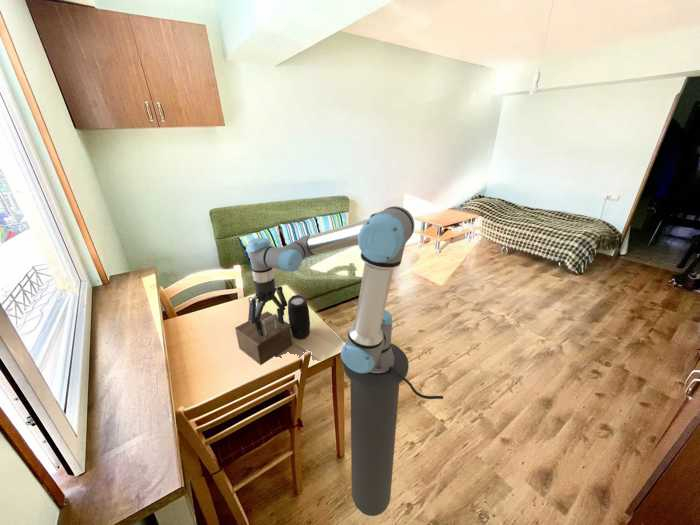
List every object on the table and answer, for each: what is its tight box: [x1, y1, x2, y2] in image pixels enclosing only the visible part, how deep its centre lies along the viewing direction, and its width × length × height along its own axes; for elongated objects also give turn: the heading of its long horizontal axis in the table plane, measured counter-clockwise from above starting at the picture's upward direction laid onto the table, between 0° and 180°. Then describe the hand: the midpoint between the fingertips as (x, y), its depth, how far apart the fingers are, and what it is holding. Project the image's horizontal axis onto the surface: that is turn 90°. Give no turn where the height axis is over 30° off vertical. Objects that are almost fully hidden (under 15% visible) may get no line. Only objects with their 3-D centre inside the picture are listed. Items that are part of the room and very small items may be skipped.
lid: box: [234, 311, 291, 346], centre depth 115 cm, size 17×16×8 cm
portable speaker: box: [287, 294, 311, 340], centre depth 123 cm, size 9×9×20 cm
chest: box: [234, 327, 293, 366], centre depth 119 cm, size 16×16×10 cm
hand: (271, 328), depth 112 cm, fingers open, 9 cm apart
